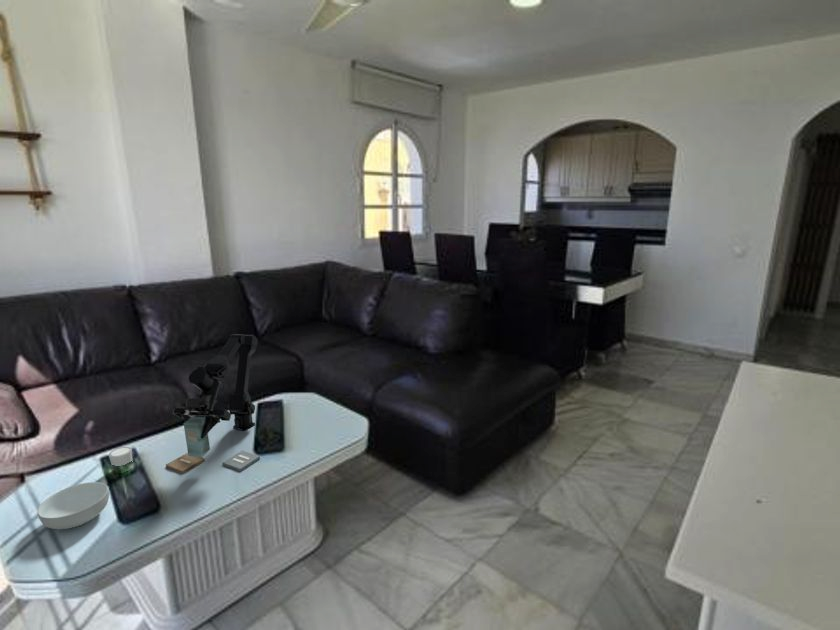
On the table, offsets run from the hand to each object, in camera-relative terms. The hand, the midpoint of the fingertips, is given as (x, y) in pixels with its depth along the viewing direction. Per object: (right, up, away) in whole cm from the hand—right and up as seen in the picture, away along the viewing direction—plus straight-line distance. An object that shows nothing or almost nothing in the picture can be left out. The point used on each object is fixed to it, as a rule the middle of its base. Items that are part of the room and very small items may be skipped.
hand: (194, 437), depth 157 cm
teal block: (0, -6, +3) cm, 7 cm away
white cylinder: (-28, -13, +5) cm, 31 cm away
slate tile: (+12, -11, +10) cm, 19 cm away
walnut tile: (-7, -12, +8) cm, 16 cm away
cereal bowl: (-25, -19, -20) cm, 37 cm away
